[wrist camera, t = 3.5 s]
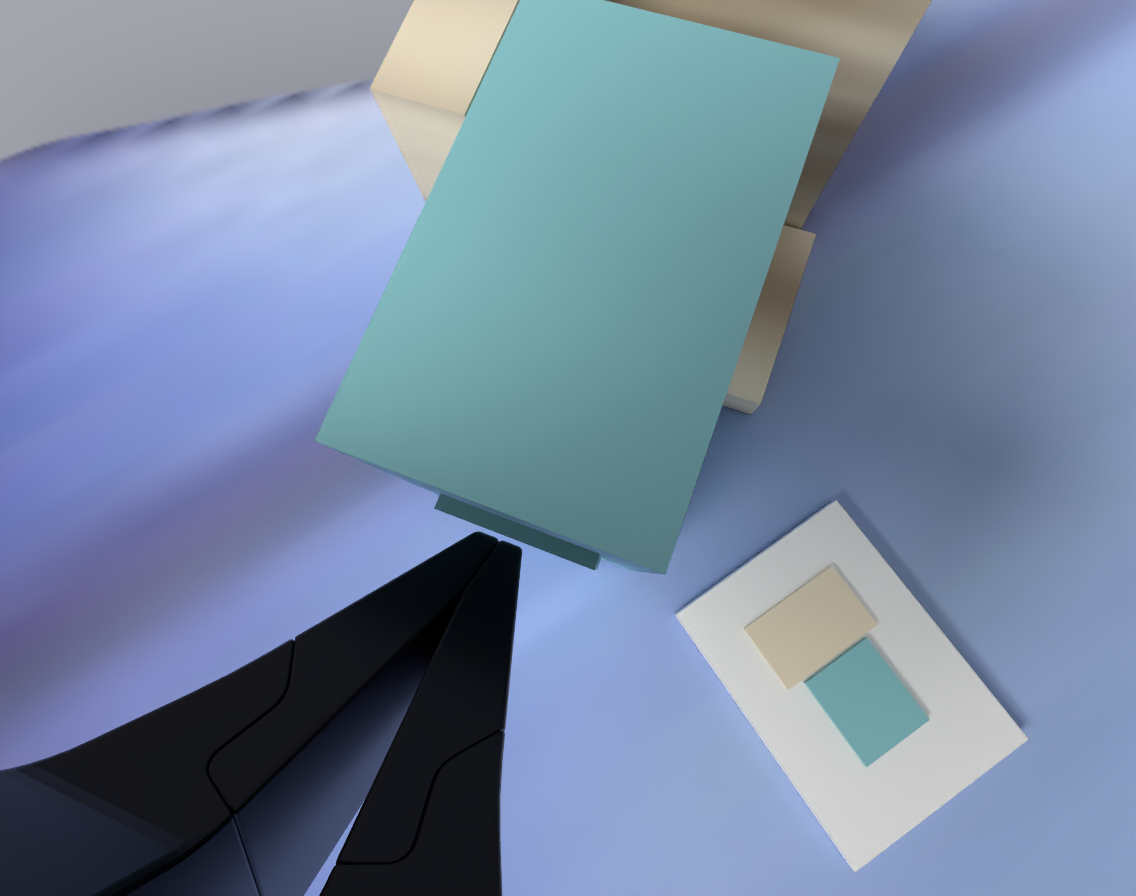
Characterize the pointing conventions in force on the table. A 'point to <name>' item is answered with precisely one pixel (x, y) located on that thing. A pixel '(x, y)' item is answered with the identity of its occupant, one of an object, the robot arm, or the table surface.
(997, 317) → the table surface
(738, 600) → the card
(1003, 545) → the table surface
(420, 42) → the maple dock
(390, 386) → the teal block
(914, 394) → the table surface
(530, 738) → the table surface
